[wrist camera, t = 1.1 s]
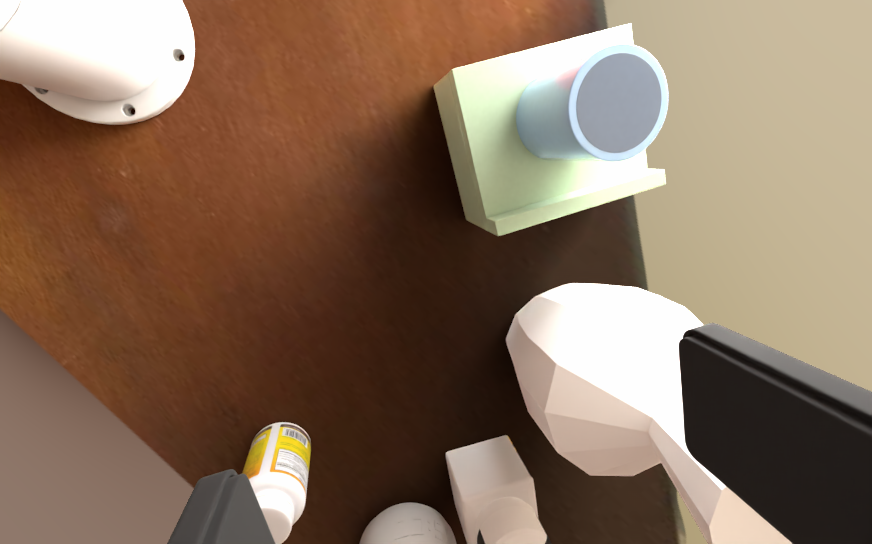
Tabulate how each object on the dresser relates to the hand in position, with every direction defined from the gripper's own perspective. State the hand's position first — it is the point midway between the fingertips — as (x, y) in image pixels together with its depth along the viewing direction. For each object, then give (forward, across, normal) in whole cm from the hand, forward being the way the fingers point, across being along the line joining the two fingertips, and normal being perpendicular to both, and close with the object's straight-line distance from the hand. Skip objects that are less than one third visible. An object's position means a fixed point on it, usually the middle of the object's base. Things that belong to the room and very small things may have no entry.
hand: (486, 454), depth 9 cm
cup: (+25, -14, -6) cm, 29 cm away
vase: (+32, -14, +14) cm, 38 cm away
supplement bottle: (+32, +15, +18) cm, 39 cm away
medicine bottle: (+32, -4, +28) cm, 43 cm away
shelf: (+32, -14, -5) cm, 35 cm away
